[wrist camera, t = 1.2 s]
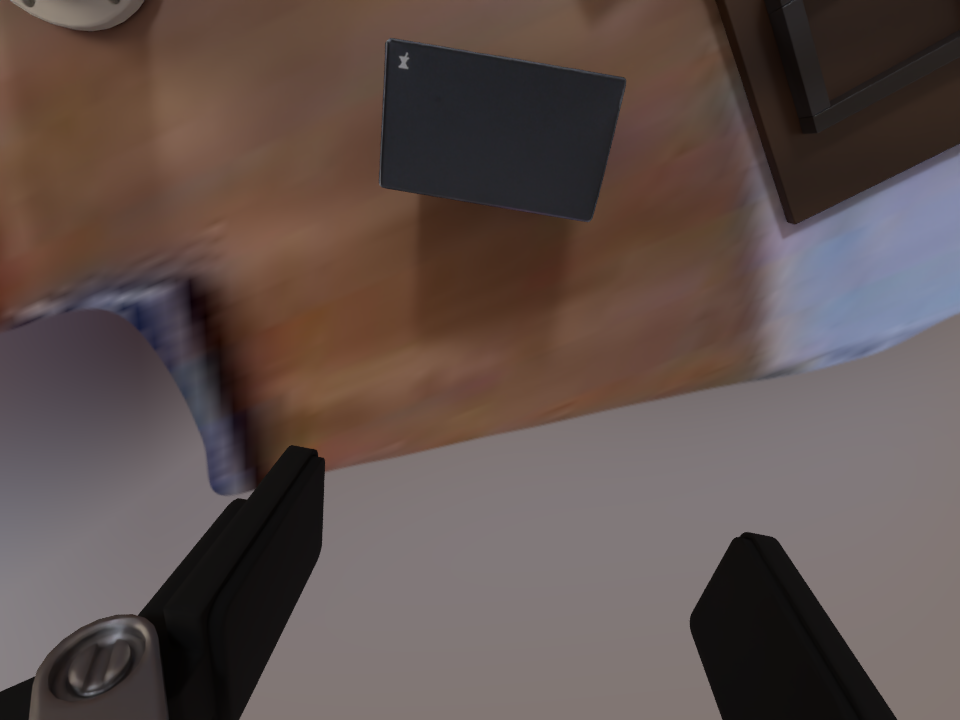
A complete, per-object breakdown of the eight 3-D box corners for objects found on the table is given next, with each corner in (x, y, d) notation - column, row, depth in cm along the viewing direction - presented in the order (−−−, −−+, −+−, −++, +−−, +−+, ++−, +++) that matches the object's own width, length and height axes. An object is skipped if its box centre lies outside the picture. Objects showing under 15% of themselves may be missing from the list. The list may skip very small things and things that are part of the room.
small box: (417, 180, 31) (372, 192, 22) (426, 69, 29) (380, 28, 19) (569, 206, 31) (592, 229, 22) (594, 97, 28) (631, 69, 19)
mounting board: (690, -75, 25) (707, -99, 23) (990, -287, 21) (1047, -339, 19) (786, 222, 31) (808, 228, 28) (1036, 99, 27) (1084, 94, 24)
